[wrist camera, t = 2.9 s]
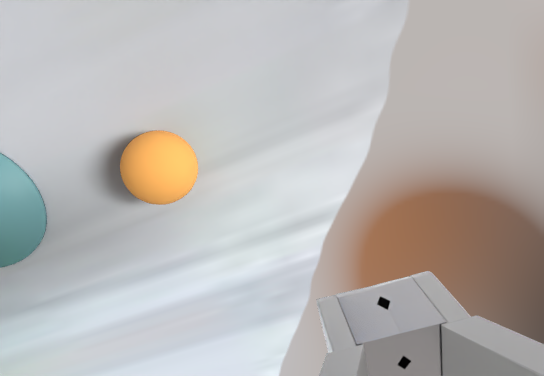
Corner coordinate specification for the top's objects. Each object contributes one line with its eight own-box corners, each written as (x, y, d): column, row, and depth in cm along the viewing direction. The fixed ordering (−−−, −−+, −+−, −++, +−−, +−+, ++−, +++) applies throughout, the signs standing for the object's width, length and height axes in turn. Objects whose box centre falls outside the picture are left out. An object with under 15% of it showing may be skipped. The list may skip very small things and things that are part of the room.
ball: (121, 132, 26) (94, 153, 21) (188, 115, 26) (177, 132, 21) (147, 194, 28) (128, 225, 23) (209, 178, 28) (204, 206, 23)
